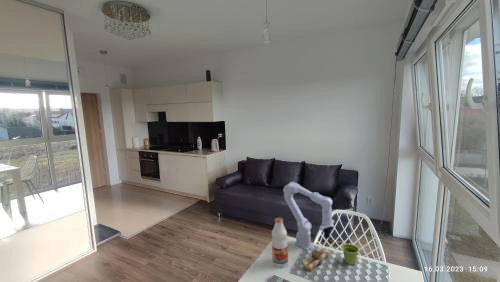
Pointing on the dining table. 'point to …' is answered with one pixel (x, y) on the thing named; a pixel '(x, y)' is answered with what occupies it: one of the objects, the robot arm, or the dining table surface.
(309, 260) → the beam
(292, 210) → the robot arm
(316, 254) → the rider
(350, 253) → the plant pot
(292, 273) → the dining table surface
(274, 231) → the fruit juice
